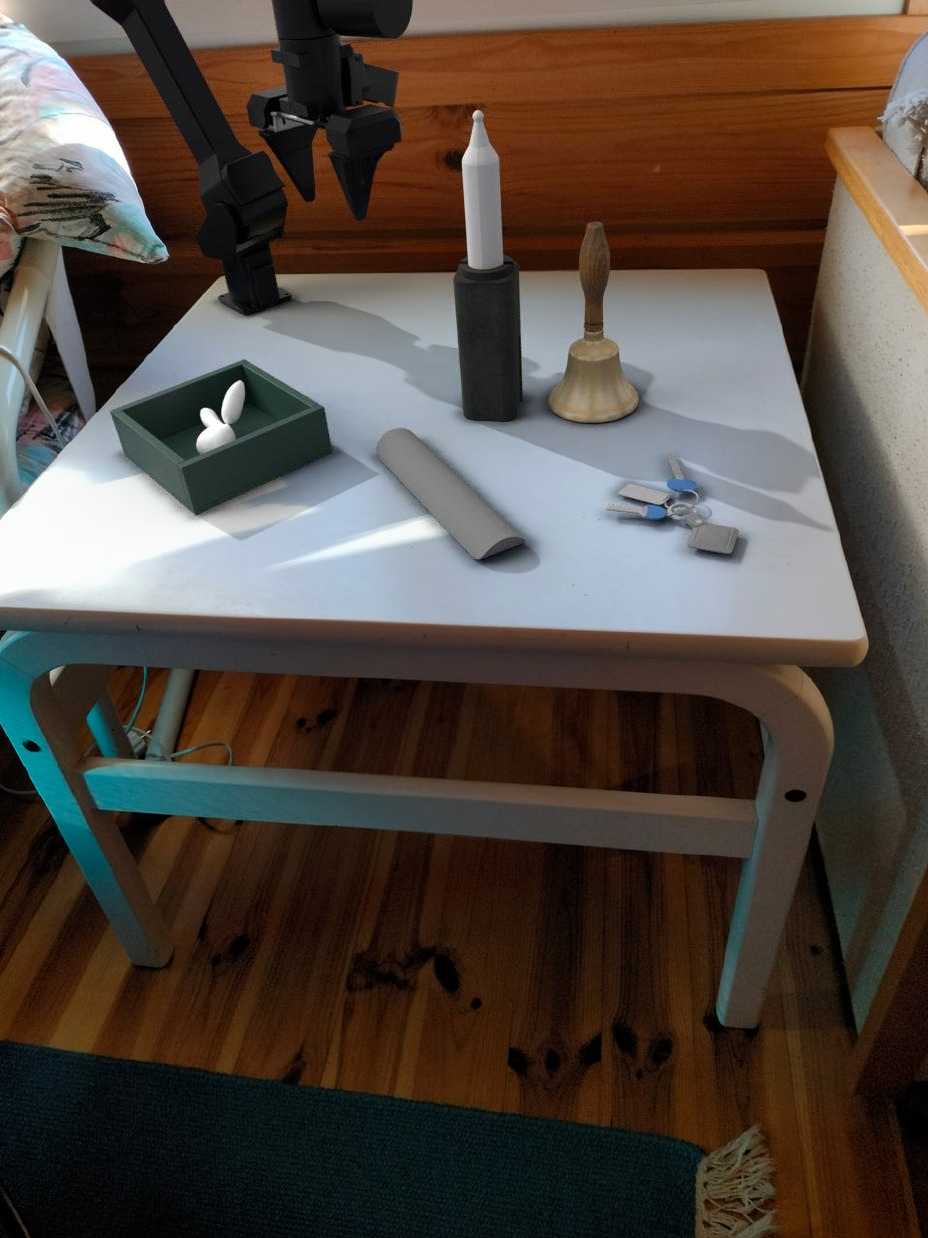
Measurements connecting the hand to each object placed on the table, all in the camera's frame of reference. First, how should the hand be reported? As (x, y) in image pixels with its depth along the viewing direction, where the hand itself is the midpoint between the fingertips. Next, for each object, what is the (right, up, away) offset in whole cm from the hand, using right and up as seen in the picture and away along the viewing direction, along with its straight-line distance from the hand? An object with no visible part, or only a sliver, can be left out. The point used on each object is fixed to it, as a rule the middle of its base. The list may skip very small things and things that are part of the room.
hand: (334, 210), depth 98 cm
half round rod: (+12, -32, -20) cm, 40 cm away
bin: (-8, -27, -12) cm, 31 cm away
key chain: (+28, -34, -24) cm, 50 cm away
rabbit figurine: (-8, -27, -13) cm, 31 cm away
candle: (+16, -22, -9) cm, 29 cm away
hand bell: (+25, -22, -9) cm, 35 cm away
